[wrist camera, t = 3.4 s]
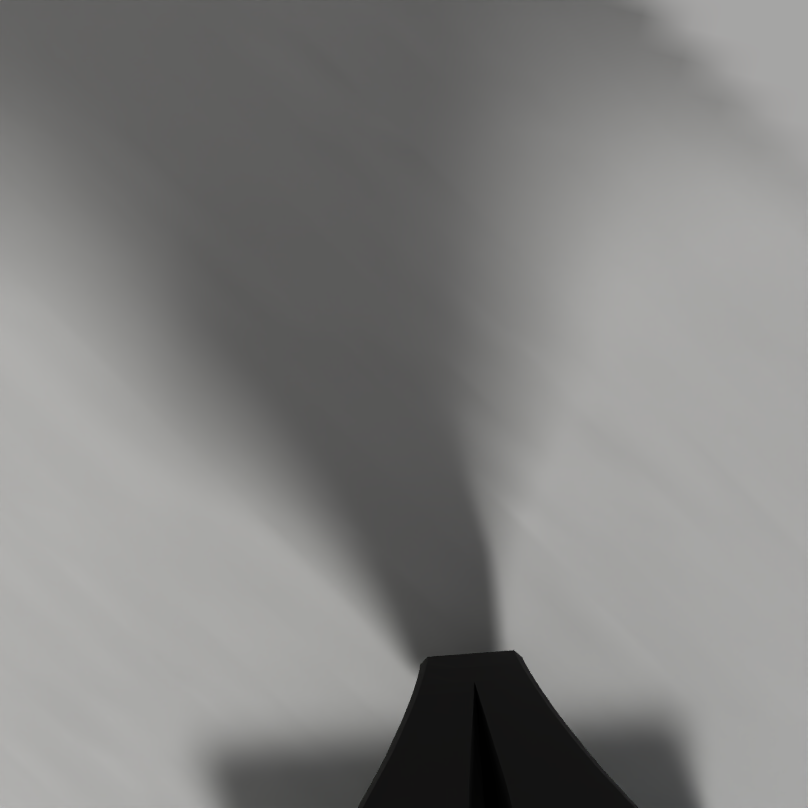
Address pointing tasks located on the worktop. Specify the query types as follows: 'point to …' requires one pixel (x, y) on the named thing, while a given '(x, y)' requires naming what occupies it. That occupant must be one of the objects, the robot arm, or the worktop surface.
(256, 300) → the worktop surface
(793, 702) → the worktop surface
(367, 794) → the robot arm
